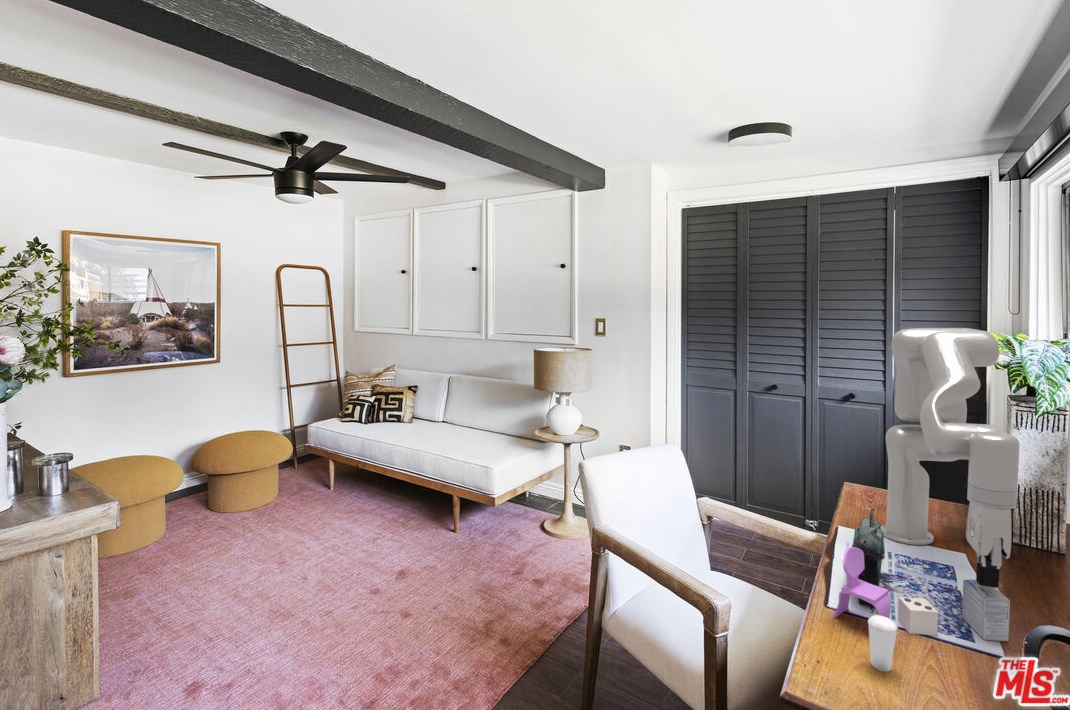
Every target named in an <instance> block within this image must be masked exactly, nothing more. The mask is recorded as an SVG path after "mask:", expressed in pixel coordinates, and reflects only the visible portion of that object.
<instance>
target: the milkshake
mask: <svg viewBox="0 0 1070 710" xmlns="http://www.w3.org/2000/svg"><path fill="white" fill-rule="evenodd" d="M901 623H902V622H901ZM901 623H900V622H899V624H898V626H897V624H896V623H895V622H894V621H893V620H892V619H890V617H889V618H887V617H884V616H880V615H878V614H876V615H875V614H874V615H872V616H871V617H869V618H868V620H867V625H868V626H867V627H868V629H867V630H868V637H869V654H870V656H869V657H870V665H871V666H872V667H873V668H874V669H876V670H878V671H880V672H884V673H886V672H891V671H892V666H893V665H892V664H893V657H894V650H895V643H896V639H897V633H898V629H899V627H900V625H902V624H901Z"/></svg>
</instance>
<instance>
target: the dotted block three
mask: <svg viewBox="0 0 1070 710" xmlns="http://www.w3.org/2000/svg"><path fill="white" fill-rule="evenodd" d="M897 621H898V622H899V624H900V623H901V622H902V623H901V624H900V625H902V627H903V628H904V630H906V631H907V632H908V634H910V635H911V634H913V635H927V636H938V625H939V624H938V622H939V611H938V610H937V609H936V608H935V607H934V606H933V604H931V603H930V602H929V601H928V599H926V598H924V597H923V598H921V597H906V596H905V597H904V596H902V597H901V596H898V604H897Z"/></svg>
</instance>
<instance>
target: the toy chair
mask: <svg viewBox="0 0 1070 710" xmlns="http://www.w3.org/2000/svg"><path fill="white" fill-rule="evenodd" d="M842 563H843V564H842V567H843V568H842V569H843V571H844V573H845V577H846V584H845V585H843V586H842V587H841V588H840V589H841V591H840V592H839V594H838V602H837V606H836V609H835V612H834V614H833V616H832V618H833V619H836V618H837V617H838V616H840V615H841V614H843V613H844V612H845V611H847V610H848V609H849V607H850V606H849V605H850V604H849V603H850V597H851V596H852V597H854V598H857V599H858V598H860V599H862V600H864V601H866V602H869V603H871V604H872V605H873V606H874V607H875V608H874V607H873V608H874V609H875V611H876V612H877V615H880V616H884V617H887V618H889V619H890V615H891V606H892V605H891V604H892V603H891V602H892V599H891V596H890V594H889V591H890V590H889V589H886V588H884V587H882V586H879V587H878V586H875V585H872V584H870V583H867V582H865V581H863V580H860V579H858V575H859V574H861V572H862V571H863V570H864V569H865V566H864V553H863V551H862V550H861V549H859V548H856V547H852V546H850V547H847V548H846V549H845V550H844V555H843V560H842Z"/></svg>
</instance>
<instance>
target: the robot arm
mask: <svg viewBox="0 0 1070 710" xmlns="http://www.w3.org/2000/svg"><path fill="white" fill-rule="evenodd" d="M891 354H892V357H893V361H894V362H895V363H894V364H895V366H896V367H895V368H896V381H895V393H894V394H895V395H894V412H895V415H896V417H897V418H898V419H900V420H902V421H906V422H916V423H917V422H918V423H920V424H897V425H893V426H891V427H890V428H888V429H887V431H886V433H885V444H886V445H885V446H886V452H887V460H888V461H887V462H888V463H887V465H888V466H887V467H888V469H887V473H888V474H887V479H888V480H887V503H886V504H887V506H886V523H885V524H882V525H881V531H882V532H883V535H884V538H888V539H889V540H892V541H895V542H898V543H901V544H907V545H913V546H925V545H926V546H927V545H930V544H932V543H934V541H935V540H934V539H935V538H934V535H933V533H932V532H930V531H928V522H929V521H928V520H929V519H928V518H929V503H930V502H929V500H930V499H929V496H930V475H929V473H928V472H927V471H926V469H925V468H924V467H923V466H922V465H921V464H920V461H923V462H925V461H929V462H930V461H932V462H955V461H958V460H968V468H967V471H968V472H967V473H968V475H967V495H966V496H967V497H966V499H967V500H968V501H969V503H968V511H967V520H966V531H965V537H966V538H965V539H966V540H967V542H968V544H969V545H970V547H971V548H972V549H973V550H974V552H975V553H976V560H977V562H976V575H975V580H976V581H977V582H978V584H979V585H981V586H987V587H994V588H999V587H1000V586H999V585H1000V570H1001V567H1002V565H1003V562H1002V561H1003V560H1002V559H1004V560H1007V559H1009V558H1010V556H1011V549H1012V509H1015V508H1017V502H1018V500H1017V499H1018V483H1019V481H1018V480H1019V464H1020V440H1019V439H1018V438H1017V436H1015V435H1013V434H1010V433H1008V432H1007V431H1006V429H1004V428H1003V427H1002V426H999V425H996V424H986V423H984V424H983V423H967V417H968V414H967V413H968V407H967V406H968V405H967V404H968V403H967V400H966V399H969V398H971V397H973V396H974V395H975V394H976V393H978V392H979V390H980V388H981V380H980V378H979V375H978V373H977V371H976V369H975V368H976V367H978V368H981V367H983V368H984V367H985V368H986V367H991V366H993V365H995V364H996V363H997V361H998V359H999V357H1000V346H999V343H998V341H997V339H996V338H995V336H993V334H992V333H990V332H989V331H987V330H982V329H981V330H980V329H975V328H969V327H967V328H966V327H917V328H916V327H915V328H913V327H912V328H904V329H901V330H898V331H896V332H895V333H894V335H893V336H892V340H891Z"/></svg>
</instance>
